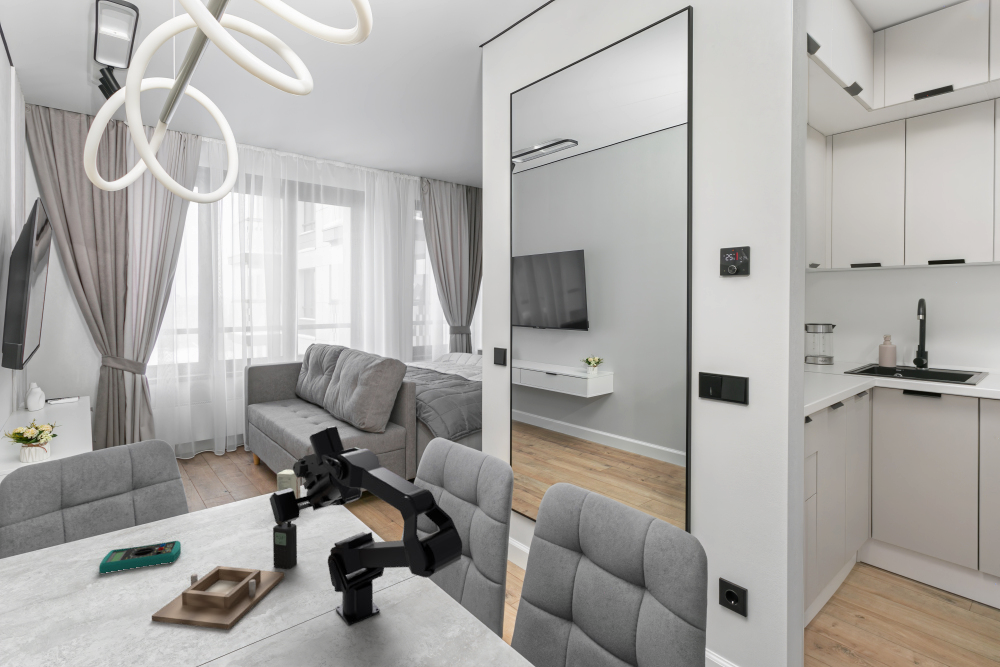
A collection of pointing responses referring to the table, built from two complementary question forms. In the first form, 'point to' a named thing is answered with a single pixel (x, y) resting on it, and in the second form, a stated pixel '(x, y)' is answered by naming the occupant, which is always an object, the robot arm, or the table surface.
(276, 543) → the walkie-talkie
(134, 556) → the digital multimeter
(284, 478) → the skincare box
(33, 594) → the table surface
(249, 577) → the wooden frame board
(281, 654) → the table surface
